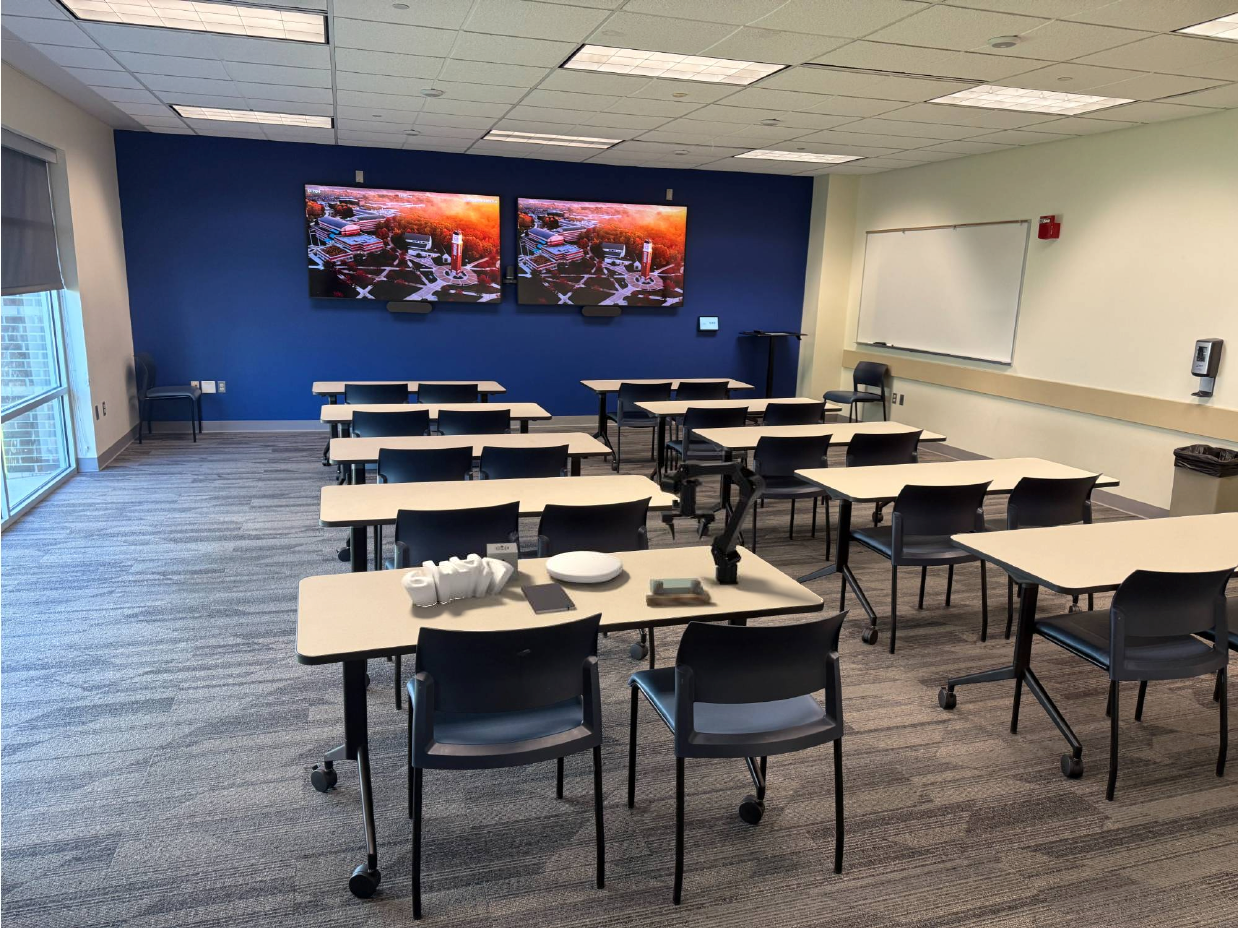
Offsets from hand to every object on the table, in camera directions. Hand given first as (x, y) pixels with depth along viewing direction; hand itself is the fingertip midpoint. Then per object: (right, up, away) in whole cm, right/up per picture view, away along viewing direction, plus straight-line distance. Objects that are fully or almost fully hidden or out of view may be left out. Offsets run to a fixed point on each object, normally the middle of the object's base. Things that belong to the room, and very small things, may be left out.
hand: (686, 540), depth 283 cm
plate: (-36, -12, -3) cm, 38 cm away
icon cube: (-64, -12, -6) cm, 65 cm away
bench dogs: (-5, -17, -26) cm, 32 cm away
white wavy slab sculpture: (-76, -16, -24) cm, 81 cm away
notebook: (-46, -17, -26) cm, 56 cm away
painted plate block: (-5, -16, -19) cm, 26 cm away
